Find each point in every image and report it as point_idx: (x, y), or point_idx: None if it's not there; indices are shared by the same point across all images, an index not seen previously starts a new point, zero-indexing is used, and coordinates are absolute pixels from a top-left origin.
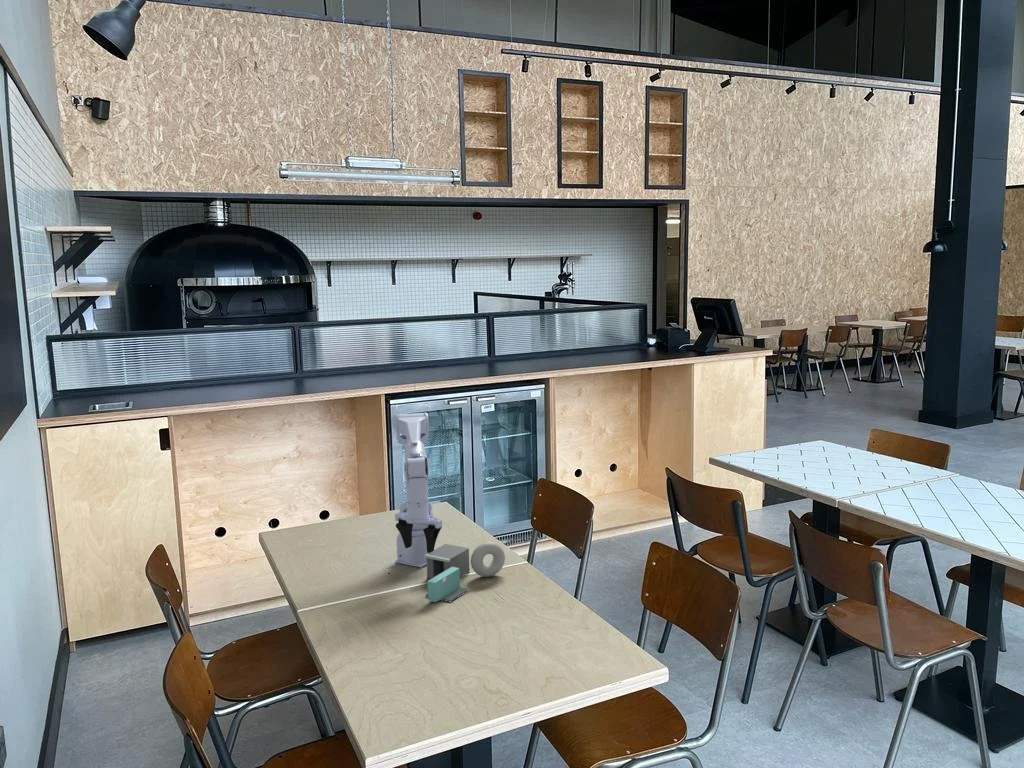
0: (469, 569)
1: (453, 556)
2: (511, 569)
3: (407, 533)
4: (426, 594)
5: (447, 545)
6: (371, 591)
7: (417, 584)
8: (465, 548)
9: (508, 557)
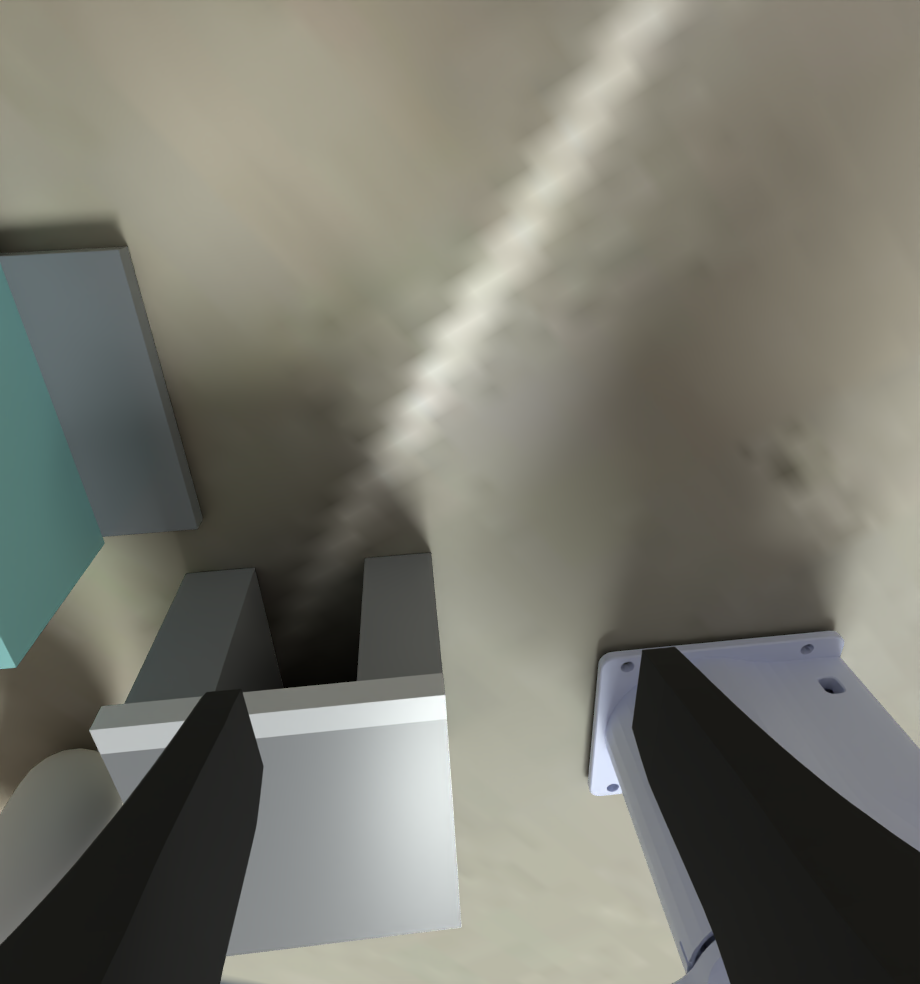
0: None
1: None
2: None
3: (756, 905)
4: (109, 250)
5: (418, 917)
6: (735, 24)
7: (417, 424)
8: None
9: None
